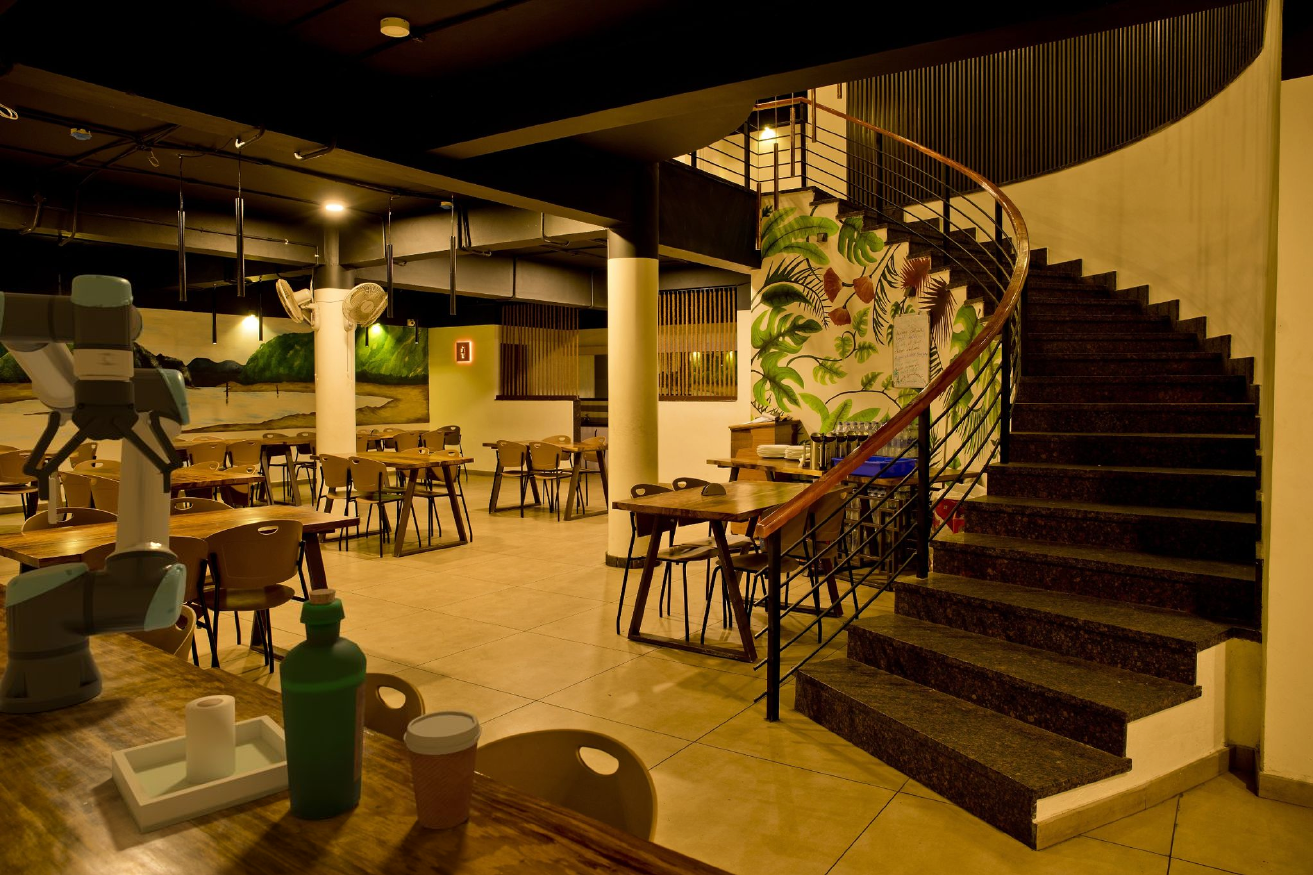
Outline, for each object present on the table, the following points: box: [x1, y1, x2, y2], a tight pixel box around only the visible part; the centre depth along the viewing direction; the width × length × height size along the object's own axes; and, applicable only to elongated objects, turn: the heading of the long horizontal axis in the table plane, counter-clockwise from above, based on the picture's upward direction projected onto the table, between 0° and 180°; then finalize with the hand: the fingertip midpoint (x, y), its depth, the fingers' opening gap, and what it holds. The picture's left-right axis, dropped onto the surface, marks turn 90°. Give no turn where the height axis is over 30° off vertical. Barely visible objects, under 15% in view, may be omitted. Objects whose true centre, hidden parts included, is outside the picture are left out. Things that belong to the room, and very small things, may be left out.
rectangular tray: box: [111, 714, 289, 835], centre depth 112 cm, size 20×20×4 cm
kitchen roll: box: [184, 694, 236, 784], centre depth 111 cm, size 6×6×10 cm
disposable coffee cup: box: [403, 710, 483, 830], centre depth 101 cm, size 10×10×12 cm
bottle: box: [278, 588, 368, 820], centre depth 104 cm, size 11×11×28 cm
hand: (108, 518), depth 123 cm, fingers open, 13 cm apart
